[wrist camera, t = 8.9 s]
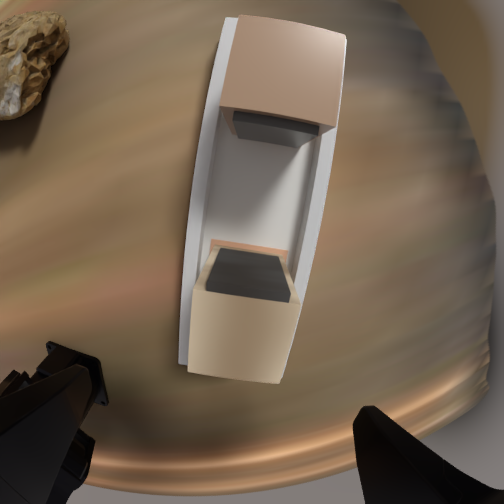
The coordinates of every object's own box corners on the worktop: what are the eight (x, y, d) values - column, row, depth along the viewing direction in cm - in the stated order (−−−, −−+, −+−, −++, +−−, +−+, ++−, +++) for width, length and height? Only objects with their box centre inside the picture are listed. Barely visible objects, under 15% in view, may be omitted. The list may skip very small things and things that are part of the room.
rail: (282, 357, 21) (295, 436, 13) (181, 343, 20) (154, 418, 13) (339, 54, 15) (386, -2, 7) (224, 34, 14) (210, -37, 7)
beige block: (283, 248, 17) (303, 295, 10) (270, 313, 18) (279, 383, 12) (215, 237, 17) (194, 278, 10) (207, 304, 18) (187, 371, 11)
